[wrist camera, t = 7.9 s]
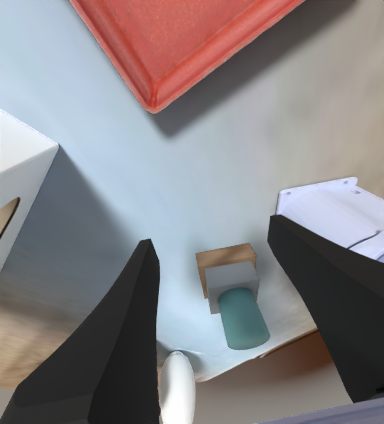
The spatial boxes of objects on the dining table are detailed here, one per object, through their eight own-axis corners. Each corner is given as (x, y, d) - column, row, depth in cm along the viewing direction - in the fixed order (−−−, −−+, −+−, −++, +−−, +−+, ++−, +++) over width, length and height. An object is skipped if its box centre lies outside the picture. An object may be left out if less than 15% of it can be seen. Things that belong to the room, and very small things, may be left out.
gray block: (250, 260, 25) (259, 279, 22) (247, 288, 29) (255, 306, 26) (204, 268, 25) (208, 288, 22) (207, 294, 28) (211, 314, 26)
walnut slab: (247, 240, 27) (255, 255, 24) (247, 273, 32) (253, 289, 29) (195, 250, 27) (197, 267, 24) (201, 282, 31) (204, 298, 29)
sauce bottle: (168, 360, 48) (169, 481, 33) (154, 351, 44) (148, 485, 29) (196, 352, 47) (209, 473, 32) (184, 342, 43) (193, 475, 28)
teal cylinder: (257, 287, 23) (276, 329, 19) (247, 307, 26) (261, 348, 22) (221, 287, 23) (233, 332, 18) (214, 308, 25) (223, 351, 21)
